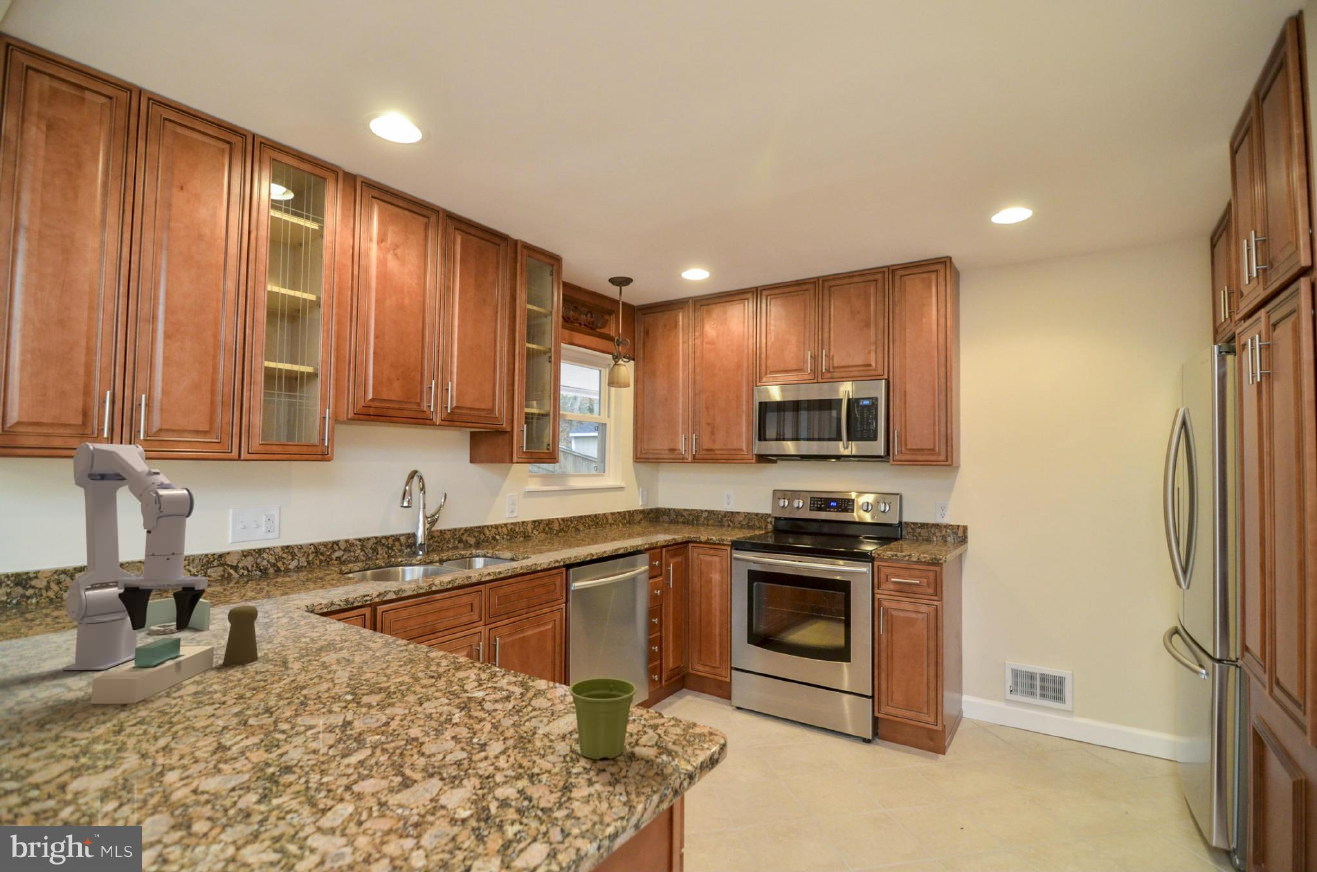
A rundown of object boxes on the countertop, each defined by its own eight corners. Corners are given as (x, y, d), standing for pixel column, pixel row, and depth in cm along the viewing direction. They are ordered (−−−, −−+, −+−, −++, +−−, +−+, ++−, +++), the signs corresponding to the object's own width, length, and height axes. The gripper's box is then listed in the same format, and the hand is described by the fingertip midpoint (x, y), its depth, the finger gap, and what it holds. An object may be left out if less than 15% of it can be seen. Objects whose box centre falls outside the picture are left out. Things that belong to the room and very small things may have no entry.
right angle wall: (127, 635, 150) (130, 603, 150) (186, 626, 160) (188, 596, 161) (149, 643, 144) (151, 609, 144) (209, 632, 154) (210, 601, 154)
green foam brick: (162, 667, 118) (164, 637, 118) (179, 667, 118) (180, 637, 118) (133, 679, 111) (135, 648, 111) (151, 679, 111) (153, 647, 111)
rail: (176, 667, 124) (177, 646, 125) (212, 666, 125) (213, 646, 125) (91, 703, 104) (92, 679, 105) (135, 703, 105) (136, 678, 105)
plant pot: (594, 732, 95) (595, 673, 95) (648, 746, 90) (648, 684, 91) (554, 755, 87) (555, 691, 87) (610, 772, 82) (611, 704, 83)
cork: (240, 666, 125) (243, 610, 126) (215, 664, 126) (218, 608, 127) (265, 657, 131) (267, 604, 132) (240, 655, 132) (243, 602, 133)
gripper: (105, 556, 112) (100, 634, 111) (191, 556, 112) (186, 634, 112) (136, 551, 119) (131, 625, 118) (216, 552, 119) (212, 624, 119)
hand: (160, 629), depth 115 cm, fingers open, 7 cm apart
